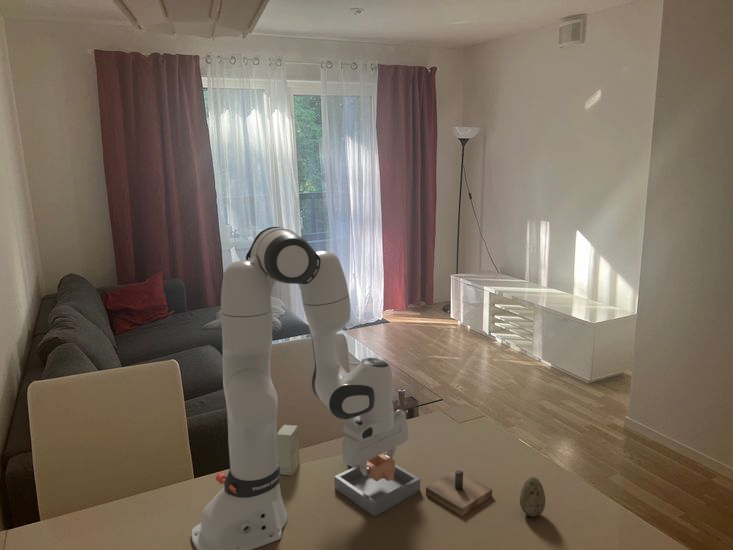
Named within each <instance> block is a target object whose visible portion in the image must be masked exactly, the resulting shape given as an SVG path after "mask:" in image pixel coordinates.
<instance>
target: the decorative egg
mask: <svg viewBox="0 0 733 550" xmlns="http://www.w3.org/2000/svg"><path fill="white" fill-rule="evenodd" d="M543 487H544V486H543V485H542V483H541V481H540V480H539V479H538V478H537V477H536V476H531V477H529V478H527V480H525V482H524V483H523V485H522V488H521V491H520V494H519V506H520V508H521V510H522V512H523V513H524V514H526V516H529V517H532V518H536V517H538V516H541V515H542V513H543V512H544V511H545V507H546V495H545V491H544V488H543Z"/></svg>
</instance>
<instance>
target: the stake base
mask: <svg viewBox="0 0 733 550" xmlns="http://www.w3.org/2000/svg"><path fill="white" fill-rule="evenodd" d="M425 495H427V496H428V497H429V498H432V499H433V500H435V501H436V502H438V503H439V504H441V505H442V506H444V507H446V508H448V509H450V511H453V512H454V513H456V514H458V515H459V516H461V517H462V516H464V515H466V514H468V513H469V512H471V511H472V510H474V509H475V508H476V507H478V506H479V505H481V504H482V503H484V502H485V501H487V500H488V499H490V498H491V497H493V488H492V487H489V486H487V485H485V484H484V483H481V482H479V481H478V480H476V479H474V478H473V477H470V476H469V475H466V474H465V473H464V471H462V470H460V469H459V470H458V469H455V470H453V471H452V472H450V473H448V474H446V475H444V476H443V477H441V478H439V479H438V480H436V481H435V482H433V483H430V484H429V485H427V486H426V487H425Z"/></svg>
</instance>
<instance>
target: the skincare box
mask: <svg viewBox="0 0 733 550" xmlns="http://www.w3.org/2000/svg"><path fill="white" fill-rule="evenodd" d="M298 429H299V426H298V425H296V424H295V425H293V424H292V425H291V424H283V425H282V426H281V427H280V429H279V430H278V431H277V432H276V440H277V459H278V462H279V465H280V475H284V476H285V475H286V476H294V474H295V473H296V471H297V470H298V468H299V466H300V464H301V463H300V462H301V461H300V445H299V430H298Z"/></svg>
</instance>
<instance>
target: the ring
mask: <svg viewBox="0 0 733 550" xmlns="http://www.w3.org/2000/svg"><path fill="white" fill-rule="evenodd" d="M395 464H396V461H395V460H394V459H393V460H392V459H390V458H389V457H387V456H386V455H385V454H384V453H382V454H380V455H378V456H376V457H374V458H372V459H370V460H368V461H367V464H366V466H367V467H369V468H370V474H368V475H367V476H369V477H370V478H372V479H373V480H375V481H376V482H377V481H378V480H380V479H382V478H384V479H386V480H387V481H390V480H392V479H394V472H395ZM360 471H361V467H360Z"/></svg>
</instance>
